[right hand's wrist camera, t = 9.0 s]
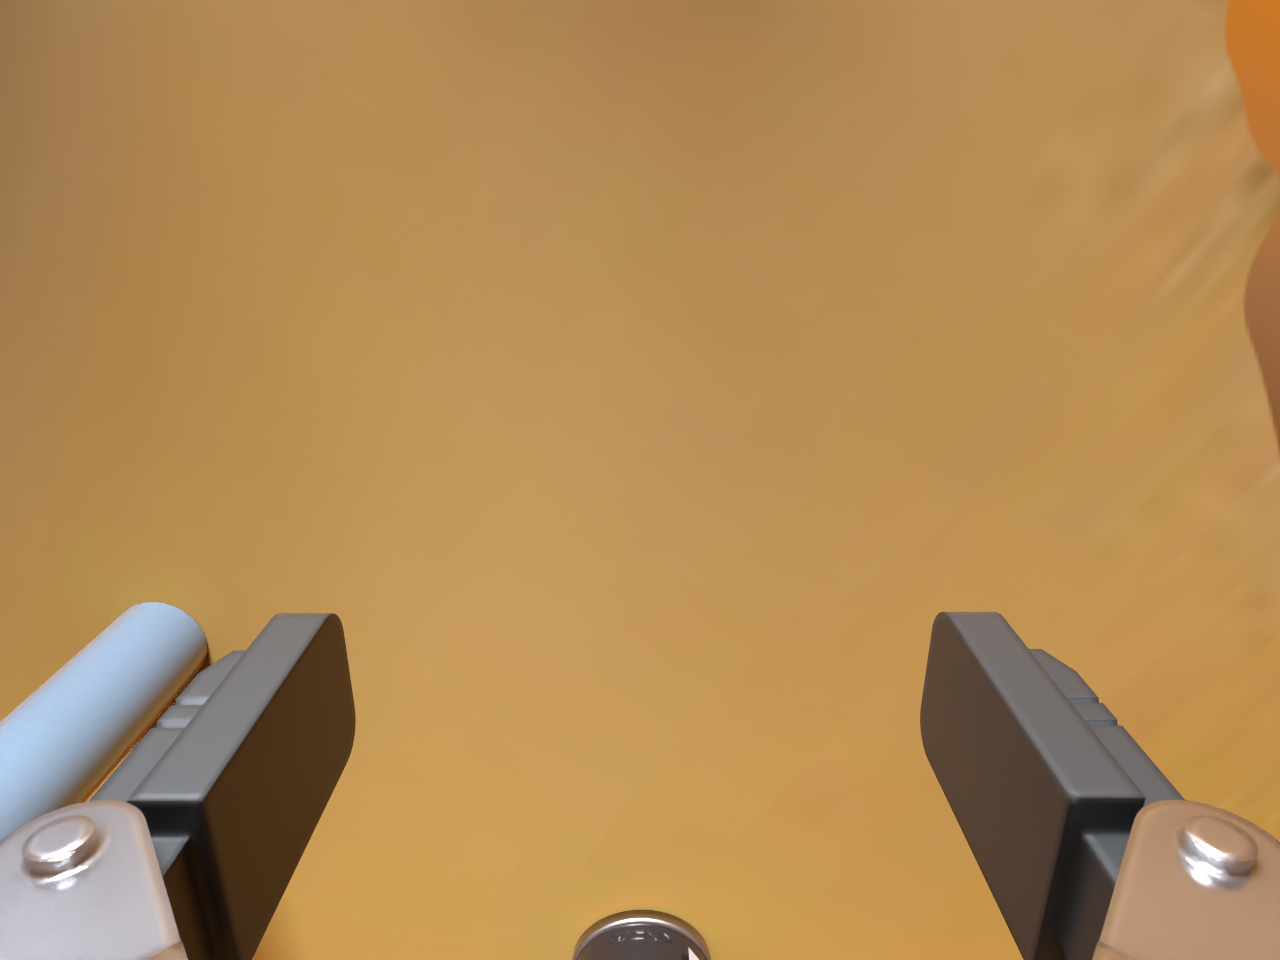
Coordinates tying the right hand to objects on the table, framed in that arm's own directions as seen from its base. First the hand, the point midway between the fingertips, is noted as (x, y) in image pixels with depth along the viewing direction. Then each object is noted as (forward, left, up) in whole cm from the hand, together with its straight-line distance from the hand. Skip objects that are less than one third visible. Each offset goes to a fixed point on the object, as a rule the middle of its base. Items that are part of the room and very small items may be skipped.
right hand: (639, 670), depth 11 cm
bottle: (-20, +28, -33) cm, 47 cm away
